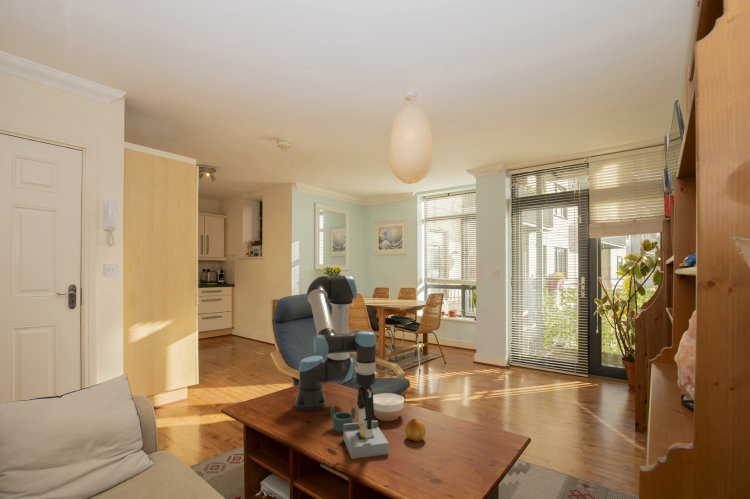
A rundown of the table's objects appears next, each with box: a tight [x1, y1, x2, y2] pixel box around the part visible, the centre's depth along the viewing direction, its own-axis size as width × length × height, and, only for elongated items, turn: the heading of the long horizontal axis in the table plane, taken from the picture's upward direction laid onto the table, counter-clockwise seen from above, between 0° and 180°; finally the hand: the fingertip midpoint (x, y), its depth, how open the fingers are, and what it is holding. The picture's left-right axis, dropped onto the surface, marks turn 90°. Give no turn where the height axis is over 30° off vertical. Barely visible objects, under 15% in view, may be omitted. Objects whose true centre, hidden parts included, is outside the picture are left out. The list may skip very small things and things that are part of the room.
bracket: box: [330, 405, 356, 433], centre depth 161 cm, size 9×9×9 cm
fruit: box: [404, 418, 427, 442], centre depth 151 cm, size 8×8×8 cm
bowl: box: [373, 392, 405, 422], centre depth 174 cm, size 16×16×8 cm
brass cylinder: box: [360, 423, 370, 440], centre depth 144 cm, size 4×4×8 cm
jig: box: [342, 419, 390, 460], centre depth 145 cm, size 16×14×6 cm
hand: (365, 431), depth 145 cm, fingers open, 10 cm apart
